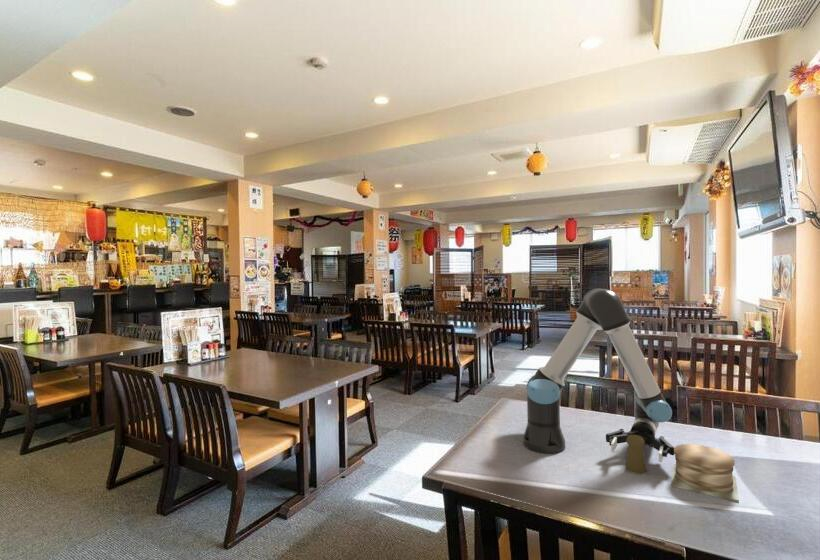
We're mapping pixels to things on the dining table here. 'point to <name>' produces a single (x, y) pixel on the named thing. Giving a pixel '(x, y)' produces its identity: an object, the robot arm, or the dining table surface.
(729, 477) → the stack of pancakes
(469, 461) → the dining table surface
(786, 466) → the dining table surface
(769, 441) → the dining table surface
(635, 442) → the cork
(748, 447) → the dining table surface
